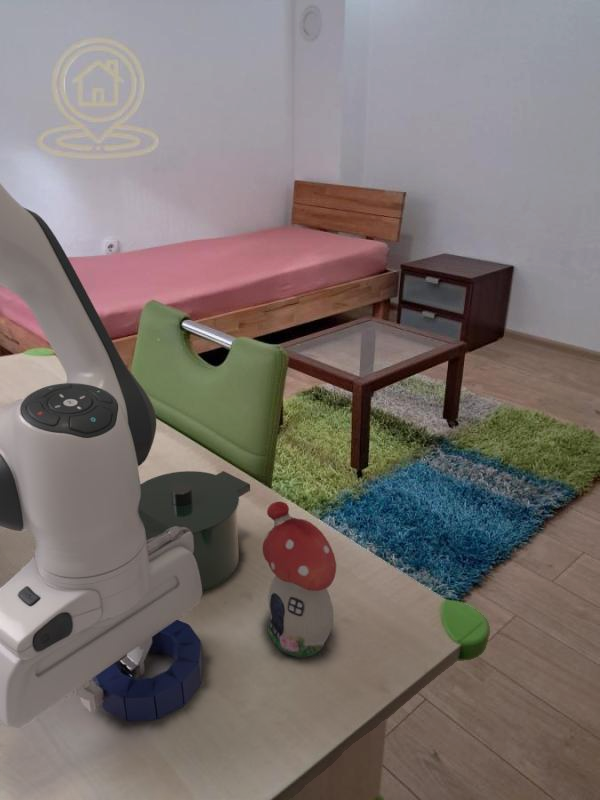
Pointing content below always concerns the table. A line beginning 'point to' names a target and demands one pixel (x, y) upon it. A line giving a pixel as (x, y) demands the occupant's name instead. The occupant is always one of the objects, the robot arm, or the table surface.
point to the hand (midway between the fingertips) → (113, 688)
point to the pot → (197, 517)
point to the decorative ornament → (298, 583)
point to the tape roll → (156, 678)
